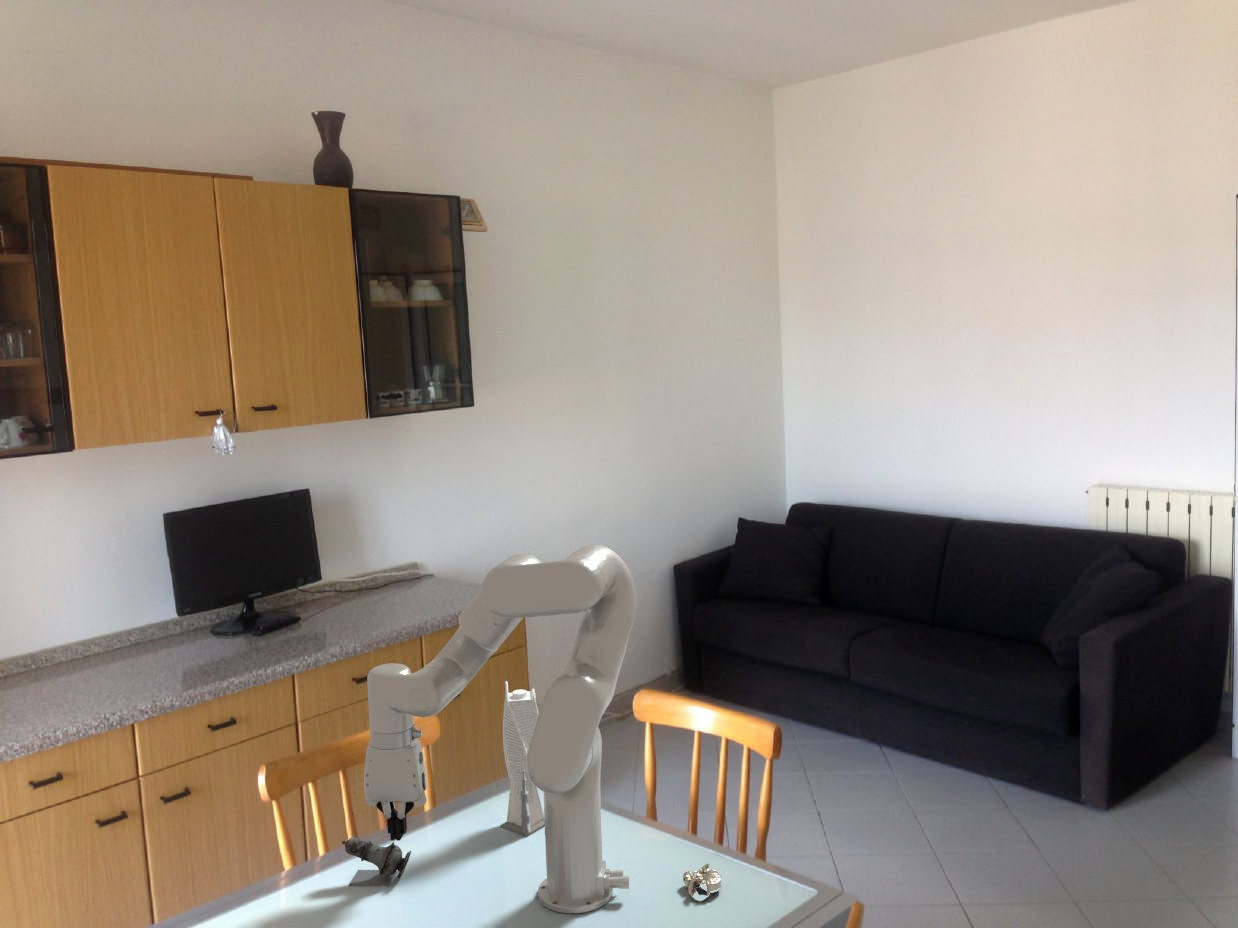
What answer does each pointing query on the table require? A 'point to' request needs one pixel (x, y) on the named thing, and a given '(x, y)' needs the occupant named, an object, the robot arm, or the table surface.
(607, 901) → the robot arm
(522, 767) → the skyscraper
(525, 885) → the table surface
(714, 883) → the ornament
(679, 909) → the table surface
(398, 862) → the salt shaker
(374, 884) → the grey flat slab
